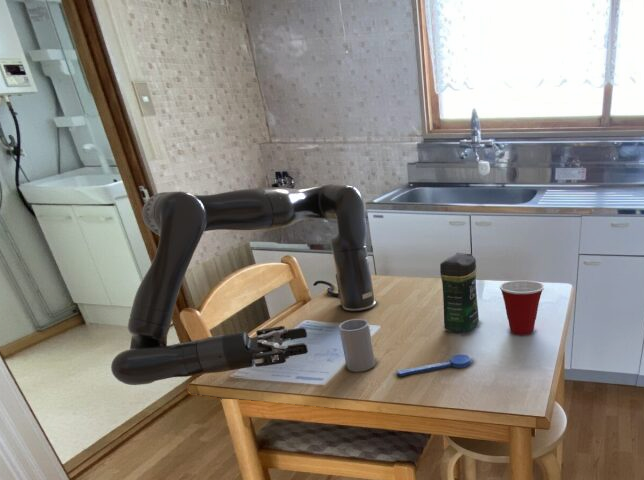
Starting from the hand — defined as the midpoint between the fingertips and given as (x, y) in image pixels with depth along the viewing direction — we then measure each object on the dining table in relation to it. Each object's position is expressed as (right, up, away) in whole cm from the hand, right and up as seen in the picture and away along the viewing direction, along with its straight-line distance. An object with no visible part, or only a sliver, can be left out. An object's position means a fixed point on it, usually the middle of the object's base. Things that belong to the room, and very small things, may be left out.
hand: (306, 339), depth 111 cm
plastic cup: (+48, +4, +19) cm, 52 cm away
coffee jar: (+33, +5, +22) cm, 40 cm away
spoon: (+28, -6, +4) cm, 29 cm away
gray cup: (+10, -5, +7) cm, 13 cm away
